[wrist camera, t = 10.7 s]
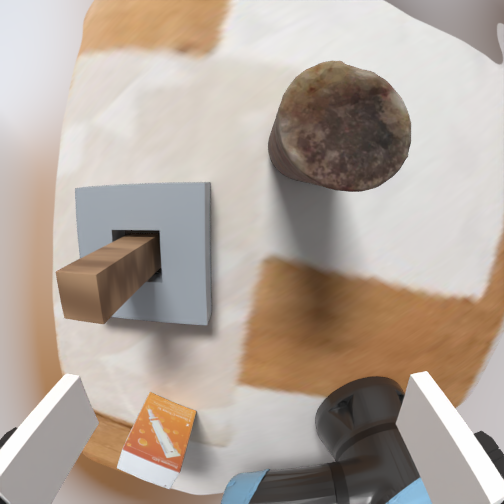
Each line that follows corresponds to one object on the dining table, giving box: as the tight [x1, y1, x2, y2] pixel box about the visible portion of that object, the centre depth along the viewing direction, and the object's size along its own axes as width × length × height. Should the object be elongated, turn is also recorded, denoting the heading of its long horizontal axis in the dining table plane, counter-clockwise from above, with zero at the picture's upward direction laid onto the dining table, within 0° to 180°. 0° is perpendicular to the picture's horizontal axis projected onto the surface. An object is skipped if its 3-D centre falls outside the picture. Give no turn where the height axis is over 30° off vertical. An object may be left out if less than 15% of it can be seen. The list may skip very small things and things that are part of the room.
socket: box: [75, 182, 212, 325], centre depth 34 cm, size 16×16×4 cm
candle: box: [268, 61, 411, 192], centre depth 23 cm, size 8×7×20 cm
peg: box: [56, 233, 161, 324], centre depth 28 cm, size 4×4×16 cm
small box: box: [117, 392, 196, 489], centre depth 36 cm, size 8×6×13 cm
